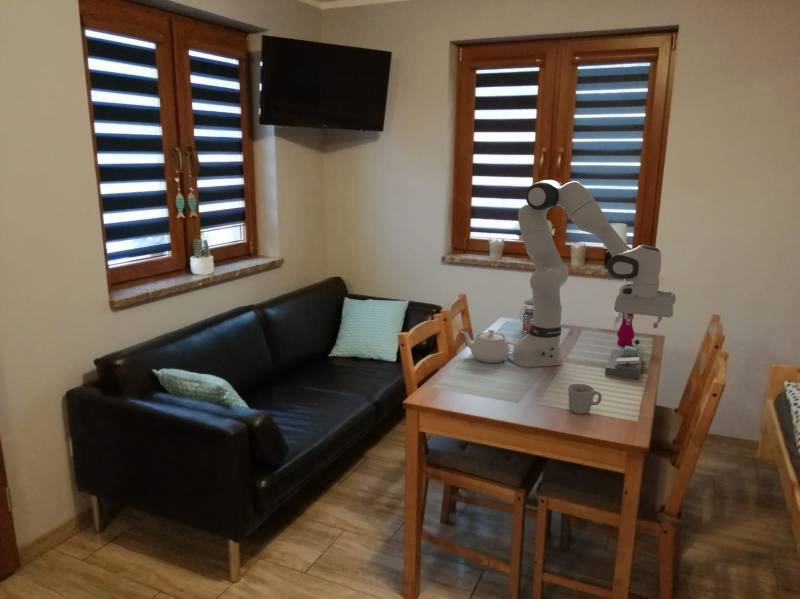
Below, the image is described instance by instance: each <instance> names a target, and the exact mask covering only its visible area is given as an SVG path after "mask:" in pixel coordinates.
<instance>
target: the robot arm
mask: <svg viewBox="0 0 800 599" xmlns="http://www.w3.org/2000/svg"><path fill="white" fill-rule="evenodd" d="M525 200H526V204H525V205H523V206H522V207H520V209H519V210H518V212H517V217H518V224H519V229H520V233H521V237H522V240H523V243H524V247H525V251H526V253H527V255H528V257H530V259H531V260H532V263H533V264H534V266H535V270H534V272H533V273H532V275H531V277H530V280H529V284H530V288H531V293H532V299H533V308H532V309H533V319H532V320H533V322H531V323H532V324H531V326H530V327H529V326H527V325H525V326H524V330H527V331H528V333H526V335H524V336H523V337H522V338H521V339H519V340H518V341H517V342H516V343H517V344H518V346H519V349H518V351H517V352H516V353H515V354H513V355H511V356H509V357H507V358H506V360H508V361H509V362H511V363H513V364H515V365H517V366H520V367H523V368H536V367H537V368H538V367H550V366H552V367H553V366H560V365H561V364H562V363H561V362H562V361H563V358H562V354H561V335H562V324H561V323H562V313H563V312H562V311H563V310H562V309H563V308H562V302H561V292H560V291H561V288H562V287H564V285H565V284H566V283H567V281H568V278H569V269H568V268H567V266H566V265H565V264H564V261H563V259H562V257H561V255H560V253H559V251H558V249H557V247H556V244H555V242H554V237H553V235H552V232H551V228H550V225H549V222H548V219H547V218H548V217H547V214H548V212H550V211H552V210H553V209H554V208H556V207H560V208H562V209H563V210H564V212H565V213H566V214H567V216H568V217H569V219H570V220H571V222H572V223H573V224H574V225H575V227H577V228H578V229H579V230H580V231H582V232H586V233H587V234H590V235H591V234H592V235H594V236H595V237H596V238H597V239H599V240H600V241H601V243H602V244H603V246H604V247H605V248H606V249H607V250H608V252H609V253H610V254H611V258H609V260H608V261H607V264H606V270H607V272H608V274H609V276H611V277H612V278H614V279H617V280H626V279H627V280H628V279H632V283H629V284H628V283H627V284H623V285H621V286H620V287H619V292H618V294H617V296H616V298H615V302H614V307H613V310H614V311H615V313H622V314H623V313H624V318H625V319H626V325H630V322H631V320H629V319H628V317H627V316H628V313H629V314H633V315H638V316H639V315H640V316H651V317H657V320H656V321H654V322H653V325H652V328H654V329H658V326H659V323H660V322H661V321H662V320H663V318H672V317H673V315H674V304H675V303H676V300H677V299H676V297H677V296H676V294H674V293H672V291H664V290H663V291H662V290H660V288H659V287H660V278H659V277H660V273H661V270H662V269H661V268H662V254H661V251H660V249H659V248H657V247H656V246H653V245H648V244H639V245H638V246H637V247H635V248H632V247H629V246H628V245H627V243H625V242H624V241H623V239H622V238H621V237H620V235H619V234H618V232H617V231H616V230H615V228H614V227H613V226H612V225H611V224H610V222H609V220H608V218H606V216H605V214H604V212H603V210H602V208H601V207H600V206H599V204H598V202H597V201H596V199H595V198H594V196H593V195H592V194H591V193H590V192H589V191H588V189H587V188H586V187H585V186H584V185H583V184H582V183H580V182H579V181H576V180H573V181H569V182H567V183H566V182H565V184H563V183H561V182H560V181H558V180H556V179H543V180H540V181H537V182H534V183H532V184H531V185H530V186H529V187H528V188H527V190H526V193H525ZM513 347H514V348H513V351H514V350H515V346H514V345H513ZM513 351H512V352H513Z"/></svg>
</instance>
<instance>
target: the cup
mask: <svg viewBox="0 0 800 599" xmlns="http://www.w3.org/2000/svg"><path fill="white" fill-rule="evenodd" d="M596 395H598V396H597V397H598V399H597V400H596V401H594V397H595V396H596ZM601 401H602V393H601V392H600V391H597V390H595V389H594V387H592V386H591V385H587V384H583V383H572V384H569V386H568V408H569V410H570V411H571V412H573V413H574V414H580V415H585V414H588V413H589V412H590V411H591V408H592V406H598V405H599V404H601Z"/></svg>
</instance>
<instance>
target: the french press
mask: <svg viewBox="0 0 800 599" xmlns="http://www.w3.org/2000/svg"><path fill="white" fill-rule="evenodd" d="M523 303H524V306H522V307H521V309H520V311H519V314H521V312H522V314H521V316H519V318H520V320H521V322H522V327H521V329H522V330H523V331H526V332H528V331H527V330H524V326H525V325H527V326H529V327H530V326H531V324H532V323H533V307H534V305H533V298H531V299H529V298H528V299H526V300H524V301H523ZM526 305H527V306H526ZM528 306H531V308H529V307H528ZM522 310H523V311H522Z"/></svg>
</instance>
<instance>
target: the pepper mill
mask: <svg viewBox="0 0 800 599" xmlns="http://www.w3.org/2000/svg"><path fill="white" fill-rule="evenodd" d="M627 317H628V319H629V320H631V322H630V325H626V319H625V318H624V313H622V314H621V318H622V319H621V324H620V327H619V328H618V330H617V333H616V336H617V338H618V339H617V345H618V344H619V346H620V345H622V346H621V347H625V346H631V347H633V344H634V343H633V339H634V338H635V331H634V327H633V320H634V317H635V314H629V313H628V316H627Z"/></svg>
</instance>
